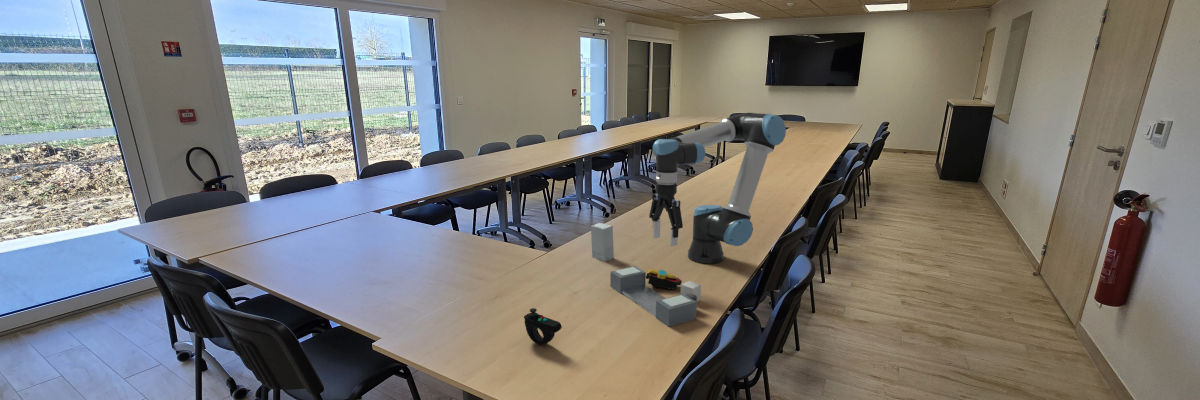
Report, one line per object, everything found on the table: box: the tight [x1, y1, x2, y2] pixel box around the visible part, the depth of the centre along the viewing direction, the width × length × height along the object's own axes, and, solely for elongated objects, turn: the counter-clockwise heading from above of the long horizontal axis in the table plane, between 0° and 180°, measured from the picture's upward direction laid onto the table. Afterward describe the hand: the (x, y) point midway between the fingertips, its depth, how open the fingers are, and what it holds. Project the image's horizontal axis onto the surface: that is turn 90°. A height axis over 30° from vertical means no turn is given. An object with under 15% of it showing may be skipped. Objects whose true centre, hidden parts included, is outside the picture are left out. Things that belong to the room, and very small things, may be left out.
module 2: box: [655, 293, 698, 328], centre depth 163 cm, size 11×7×6 cm, turn 119°
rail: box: [620, 284, 666, 318], centre depth 176 cm, size 10×32×1 cm, turn 29°
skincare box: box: [590, 222, 615, 262], centre depth 217 cm, size 8×6×15 cm
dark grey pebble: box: [686, 294, 698, 303], centre depth 169 cm, size 4×4×5 cm
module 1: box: [609, 265, 647, 294], centre depth 188 cm, size 11×7×6 cm, turn 119°
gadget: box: [645, 268, 683, 290], centre depth 188 cm, size 6×13×6 cm, turn 79°
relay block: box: [679, 280, 702, 303], centre depth 177 cm, size 5×5×6 cm
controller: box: [523, 307, 563, 346], centre depth 147 cm, size 4×12×10 cm, turn 57°
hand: (664, 241), depth 187 cm, fingers open, 10 cm apart
